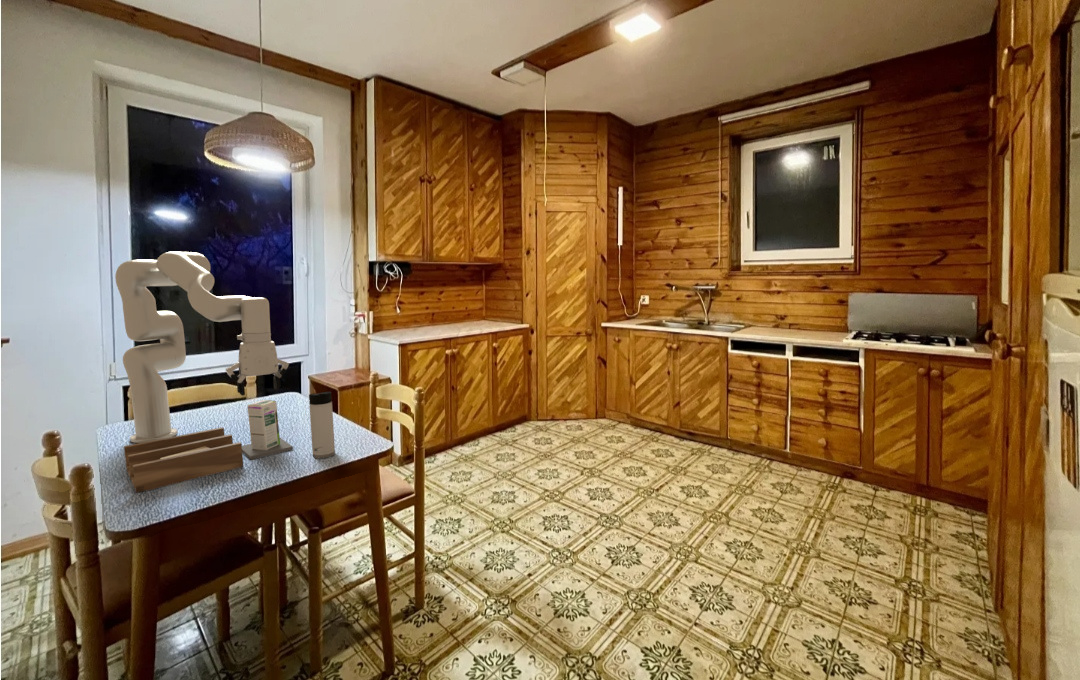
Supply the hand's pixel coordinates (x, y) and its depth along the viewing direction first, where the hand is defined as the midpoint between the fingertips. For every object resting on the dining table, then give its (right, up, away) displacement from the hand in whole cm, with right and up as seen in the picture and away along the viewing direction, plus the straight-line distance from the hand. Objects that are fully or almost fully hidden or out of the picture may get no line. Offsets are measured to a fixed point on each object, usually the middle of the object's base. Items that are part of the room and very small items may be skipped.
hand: (259, 392), depth 152 cm
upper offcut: (-11, -18, -16) cm, 27 cm away
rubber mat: (+1, -18, +2) cm, 19 cm away
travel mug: (+21, -19, -2) cm, 29 cm away
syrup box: (+1, -18, +2) cm, 18 cm away
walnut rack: (-14, -21, -12) cm, 28 cm away
